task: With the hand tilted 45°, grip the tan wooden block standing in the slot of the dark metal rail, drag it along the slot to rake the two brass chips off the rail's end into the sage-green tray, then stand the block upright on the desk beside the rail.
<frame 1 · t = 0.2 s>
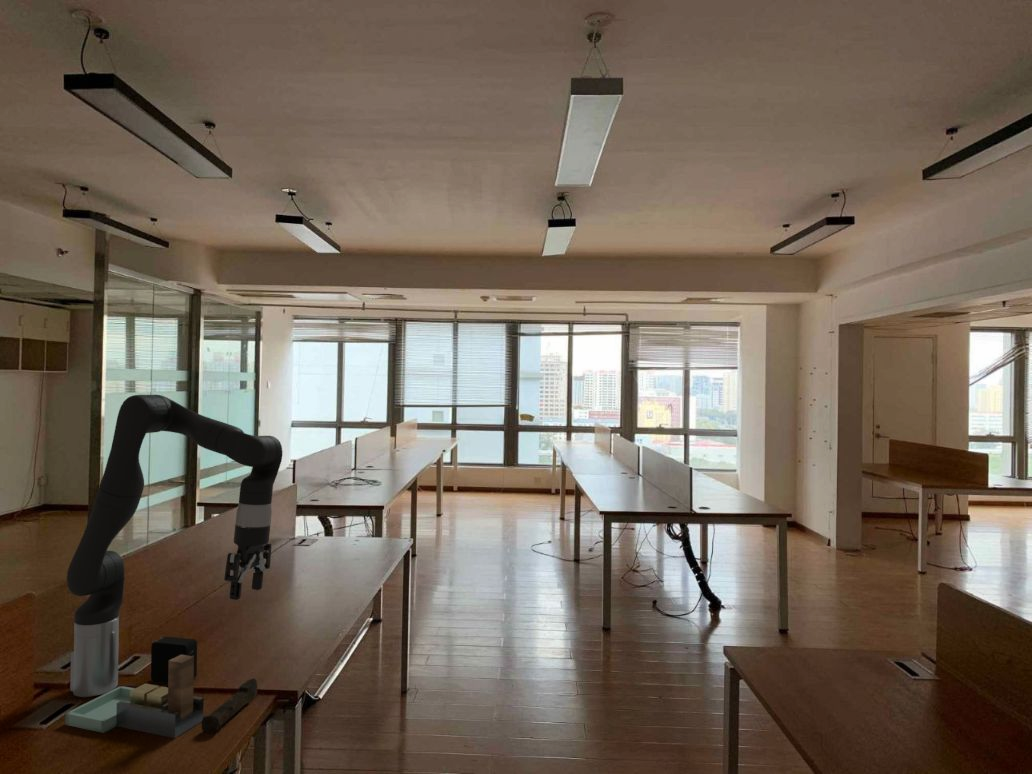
hand: (246, 594, 147), 28 cm above the table, tool pointing down, fingers open, 8 cm apart
slot rail: (160, 723, 143), on the table
hand tool: (231, 714, 149), on the table
chip b: (144, 706, 145), point 3 cm above the table, touching slot rail
chip a: (161, 709, 143), point 3 cm above the table, touching slot rail
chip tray: (112, 713, 147), on the table
tan wooden block: (180, 713, 142), point 3 cm above the table, touching slot rail
electronic device: (173, 680, 165), on the table
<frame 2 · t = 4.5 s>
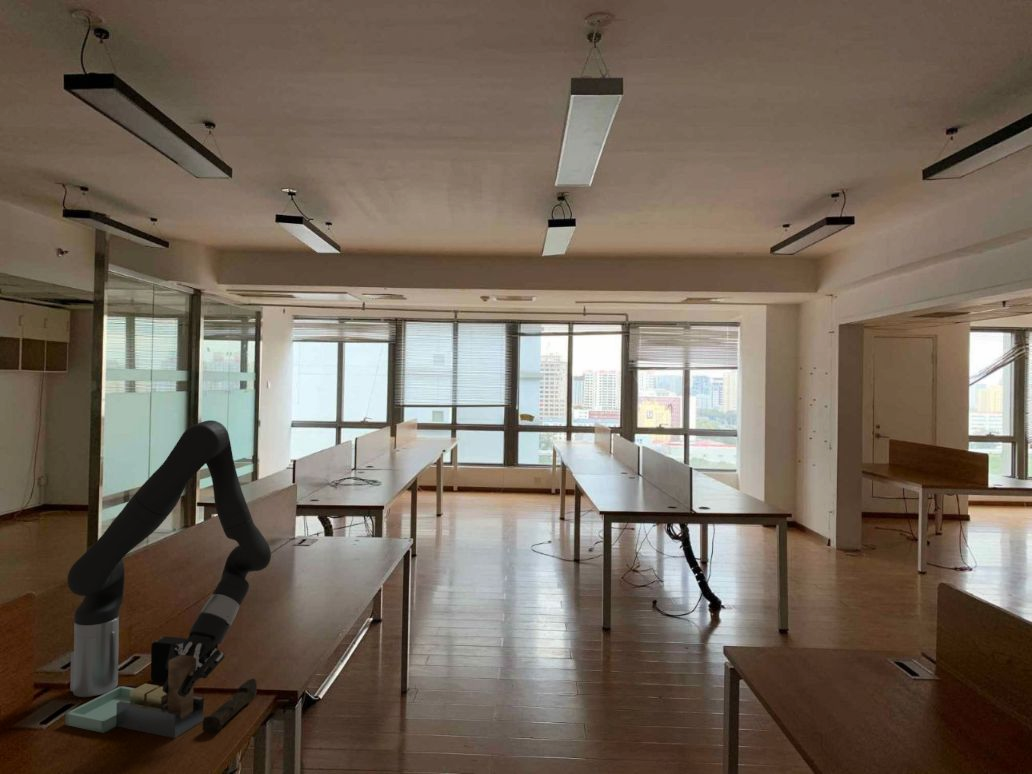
hand: (173, 693, 140), 8 cm above the table, tool tilted 45°, fingers closed on tan wooden block, 3 cm apart
tan wooden block: (180, 713, 142), point 3 cm above the table, touching gripper, slot rail
everything else where it was.
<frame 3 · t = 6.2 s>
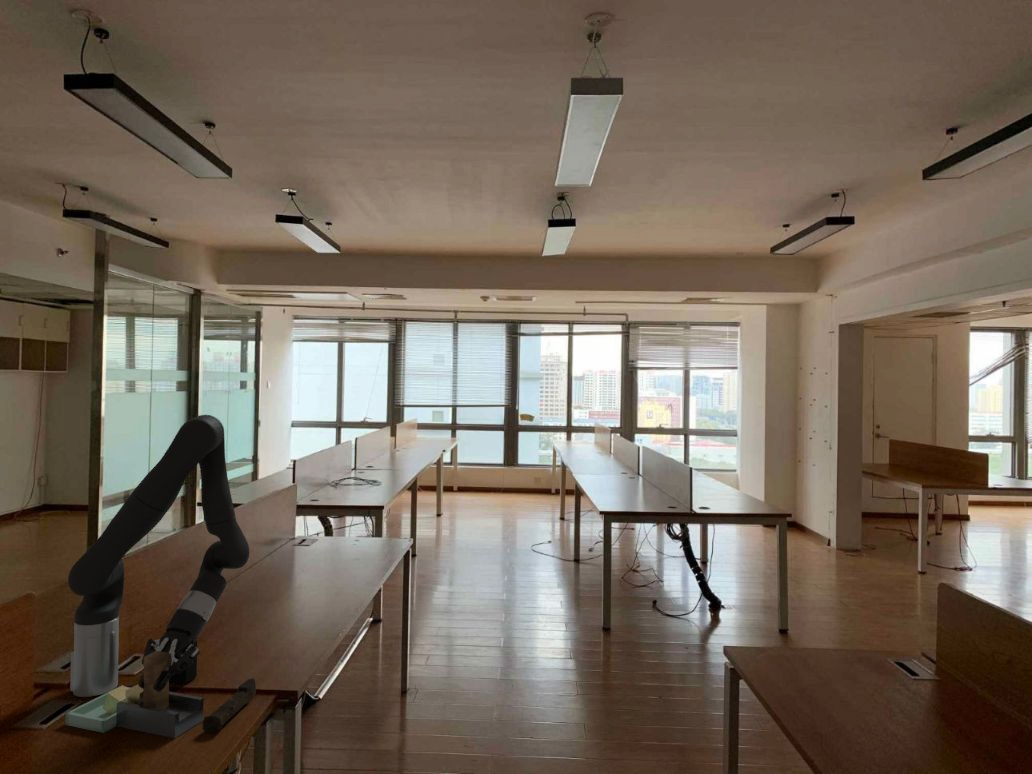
hand: (149, 688, 142), 8 cm above the table, tool tilted 45°, fingers closed on tan wooden block, 3 cm apart
chip b: (125, 705, 146), point 2 cm above the table, tilted 71°, touching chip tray
chip a: (139, 705, 145), point 3 cm above the table, touching slot rail
tan wooden block: (156, 709, 144), point 3 cm above the table, touching gripper, slot rail
everything else where it was.
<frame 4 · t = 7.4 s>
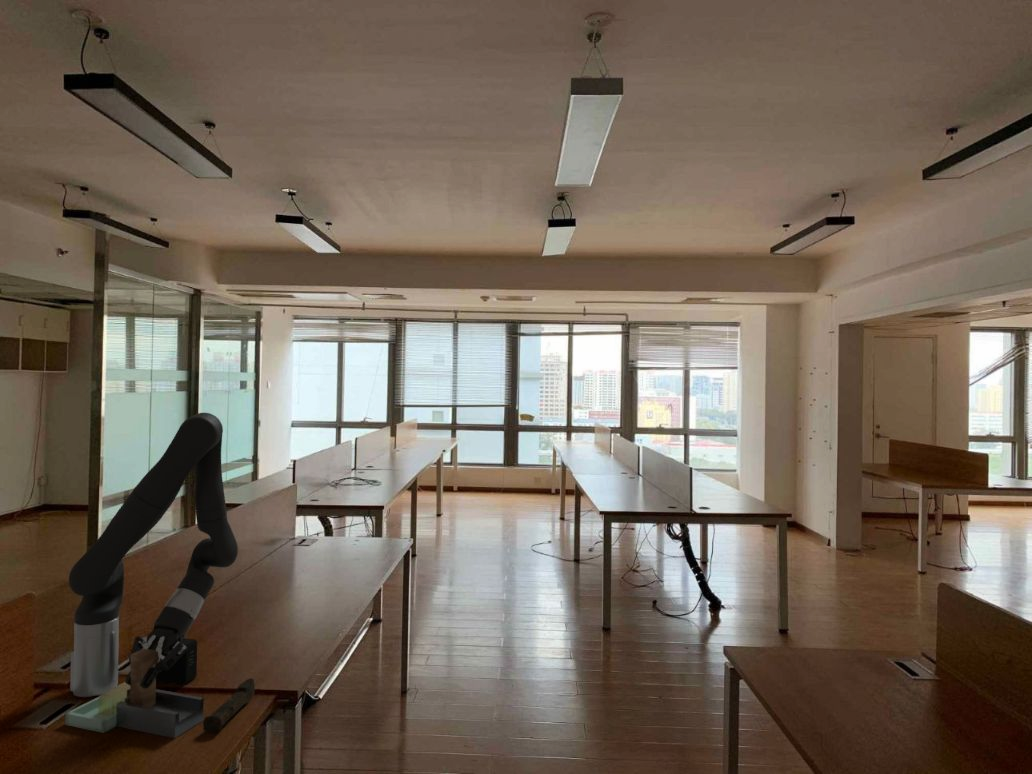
hand: (136, 685, 143), 8 cm above the table, tool tilted 45°, fingers closed on tan wooden block, 3 cm apart
chip b: (120, 703, 147), point 3 cm above the table, tilted 90°, touching chip a, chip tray
chip a: (127, 703, 146), point 3 cm above the table, touching chip b, tan wooden block, slot rail
tan wooden block: (142, 706, 145), point 3 cm above the table, touching chip a, gripper
everything else where it was.
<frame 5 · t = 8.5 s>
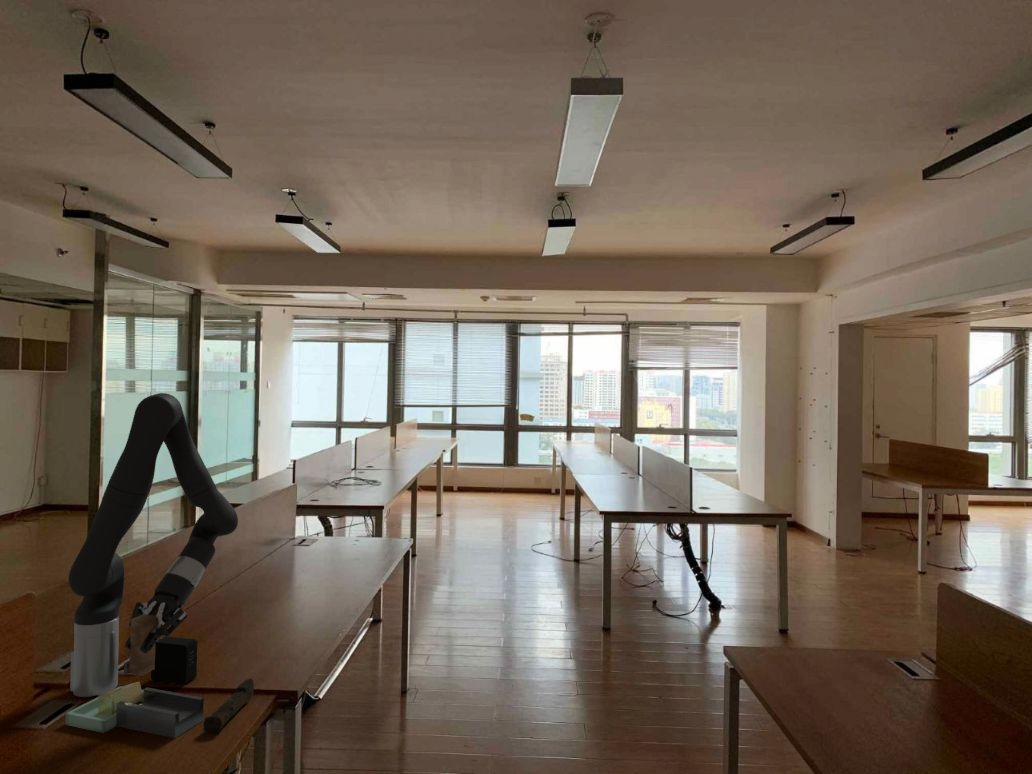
hand: (135, 649, 143), 16 cm above the table, tool tilted 45°, fingers closed on tan wooden block, 3 cm apart
chip a: (129, 704, 146), point 3 cm above the table, tilted 20°, touching chip b, slot rail
tan wooden block: (141, 671, 145), point 11 cm above the table, touching gripper
everything else where it was.
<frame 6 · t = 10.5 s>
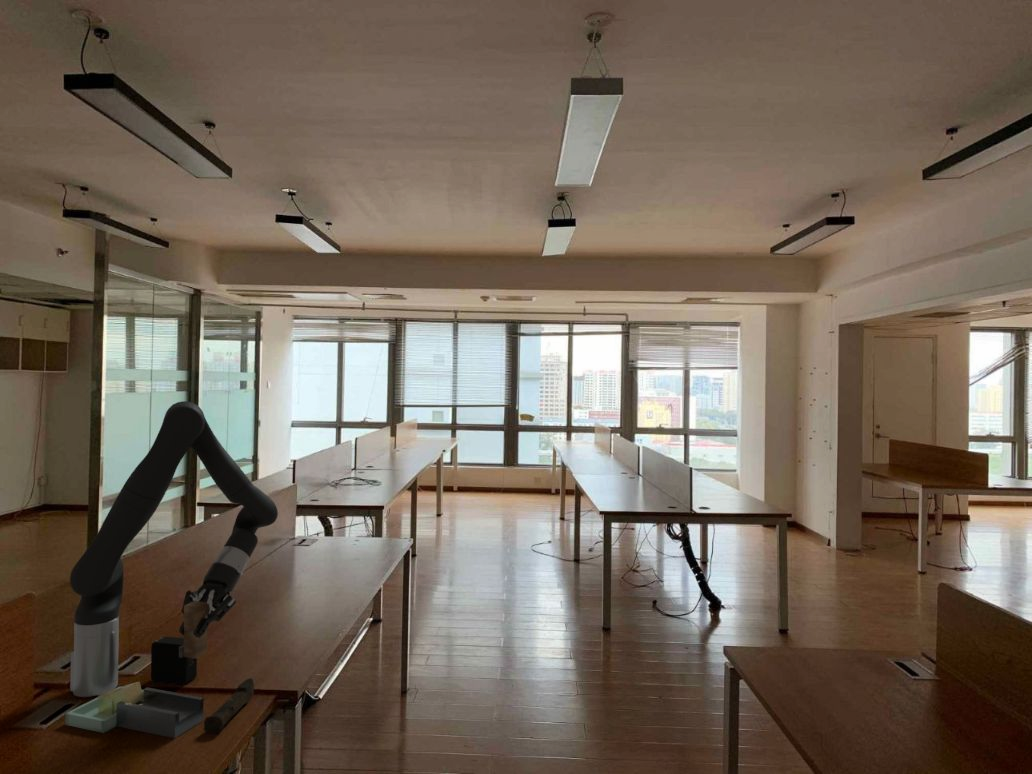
hand: (189, 634, 151), 17 cm above the table, tool tilted 45°, fingers closed on tan wooden block, 3 cm apart
tan wooden block: (195, 654, 153), point 11 cm above the table, touching gripper
everything else where it was.
when the fingers open (7 cm above the table, at t = 12.4 s): tan wooden block drops 1 cm, on the table.
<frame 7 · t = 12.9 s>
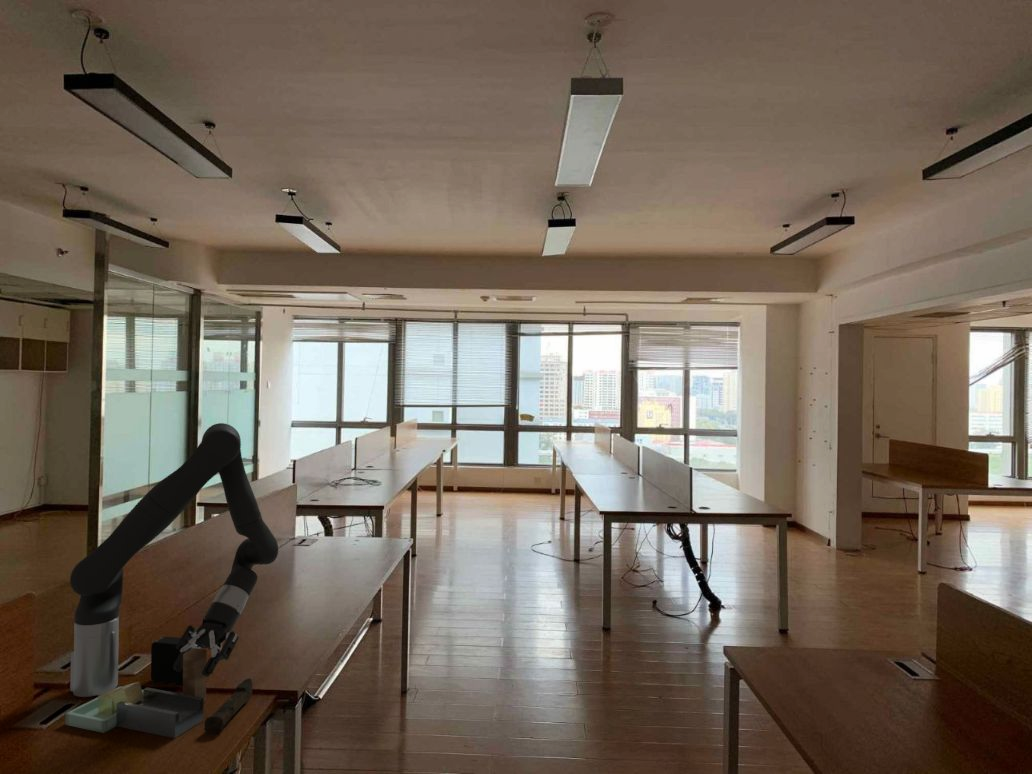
hand: (190, 672, 152), 8 cm above the table, tool tilted 45°, fingers open, 8 cm apart
tan wooden block: (194, 702, 153), on the table
everything else where it was.
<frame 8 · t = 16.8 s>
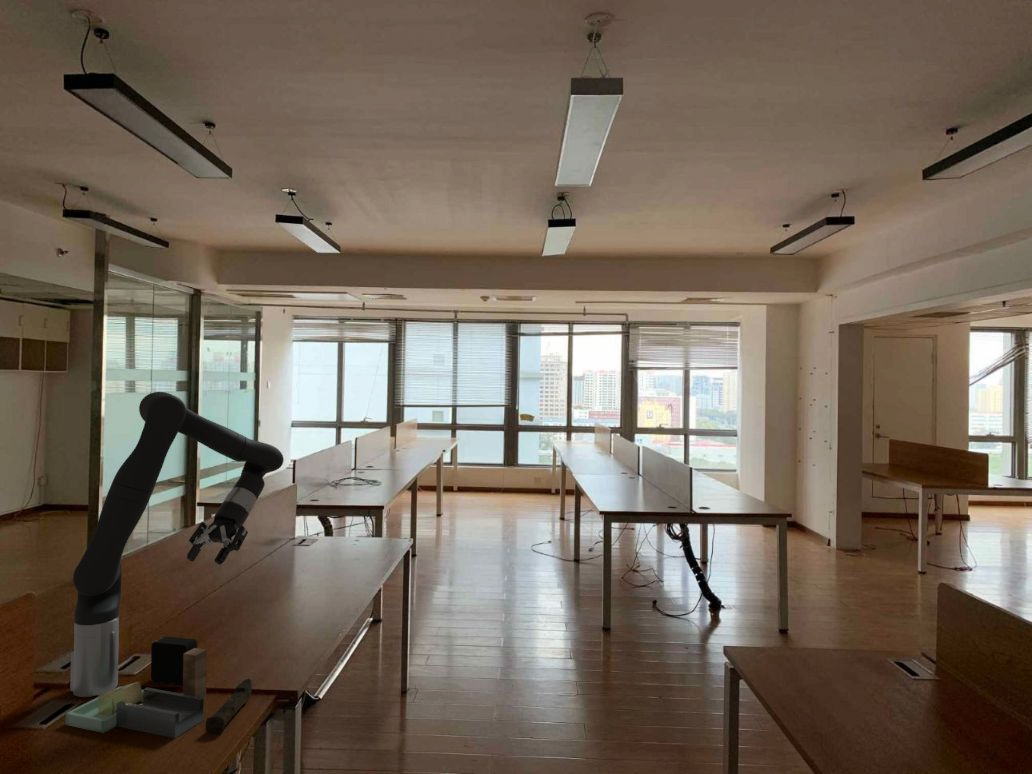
hand: (203, 561, 163), 31 cm above the table, tool tilted 45°, fingers open, 8 cm apart
nothing on the table moved.
at the end: chip a inside the target area (5.1 cm from its centre), point 2.7 cm above the table; chip b inside the target area (2.2 cm from its centre), point 2.6 cm above the table; tan wooden block inside the target area (0.1 cm from its centre), on the table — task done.
